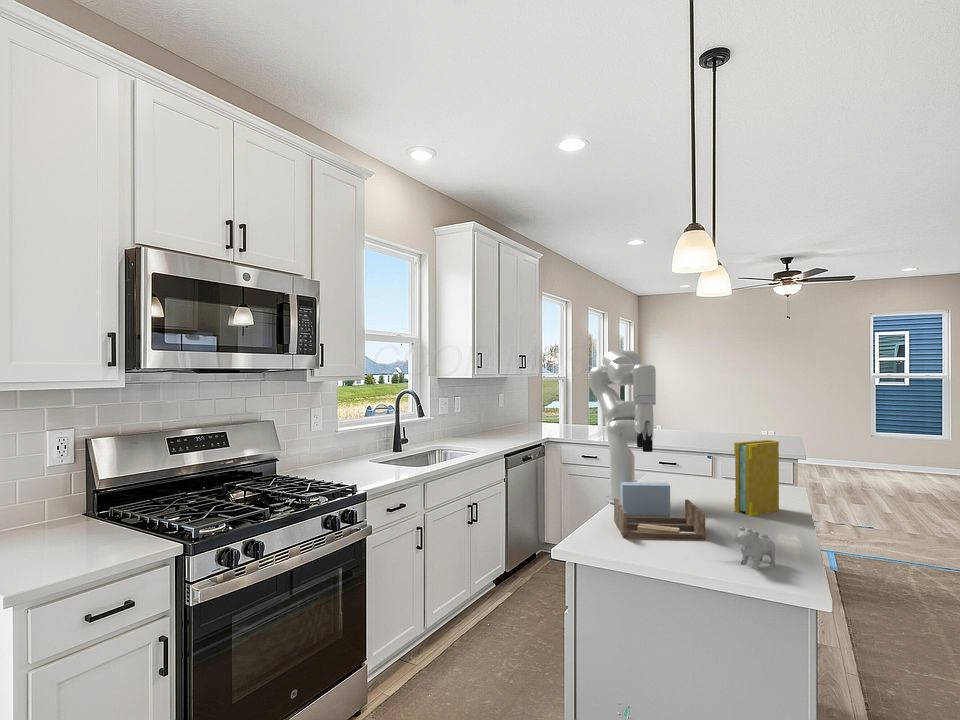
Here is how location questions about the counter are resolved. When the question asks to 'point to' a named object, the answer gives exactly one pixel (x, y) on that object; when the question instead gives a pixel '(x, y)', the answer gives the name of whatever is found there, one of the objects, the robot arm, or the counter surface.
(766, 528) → the counter surface
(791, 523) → the counter surface
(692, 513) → the rack
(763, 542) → the grey animal figure
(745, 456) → the book
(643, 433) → the robot arm
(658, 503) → the blue-grey rectangular block
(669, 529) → the offcut top
